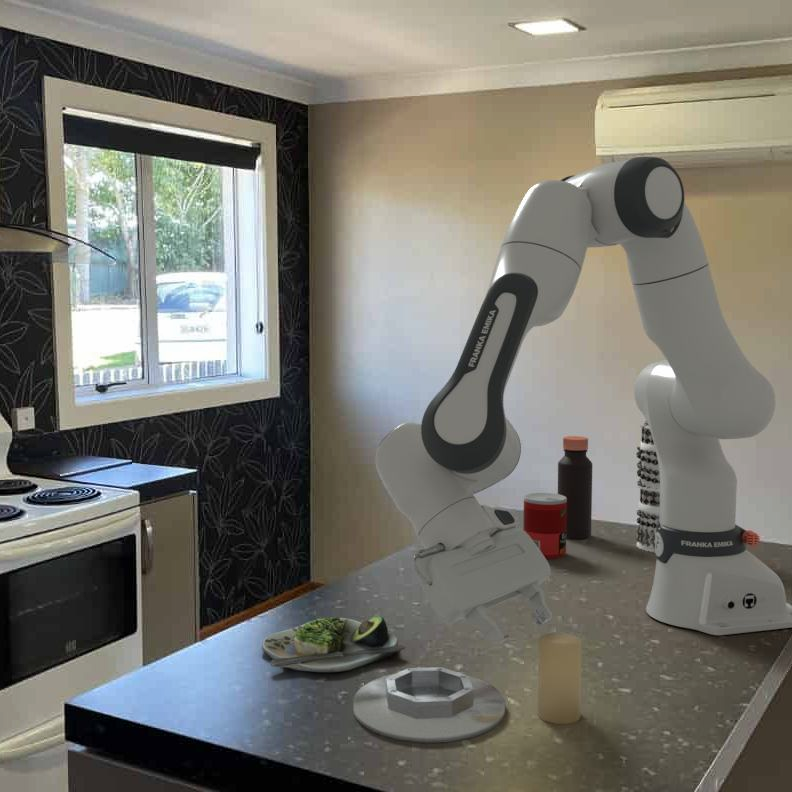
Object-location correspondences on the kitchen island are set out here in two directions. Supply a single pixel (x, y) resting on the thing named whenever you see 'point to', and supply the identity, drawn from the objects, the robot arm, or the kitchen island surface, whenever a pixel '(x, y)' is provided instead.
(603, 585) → the kitchen island surface
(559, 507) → the canned food
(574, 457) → the bottle
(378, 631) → the salad plate
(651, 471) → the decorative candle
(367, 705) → the collar
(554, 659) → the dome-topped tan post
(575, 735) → the kitchen island surface
